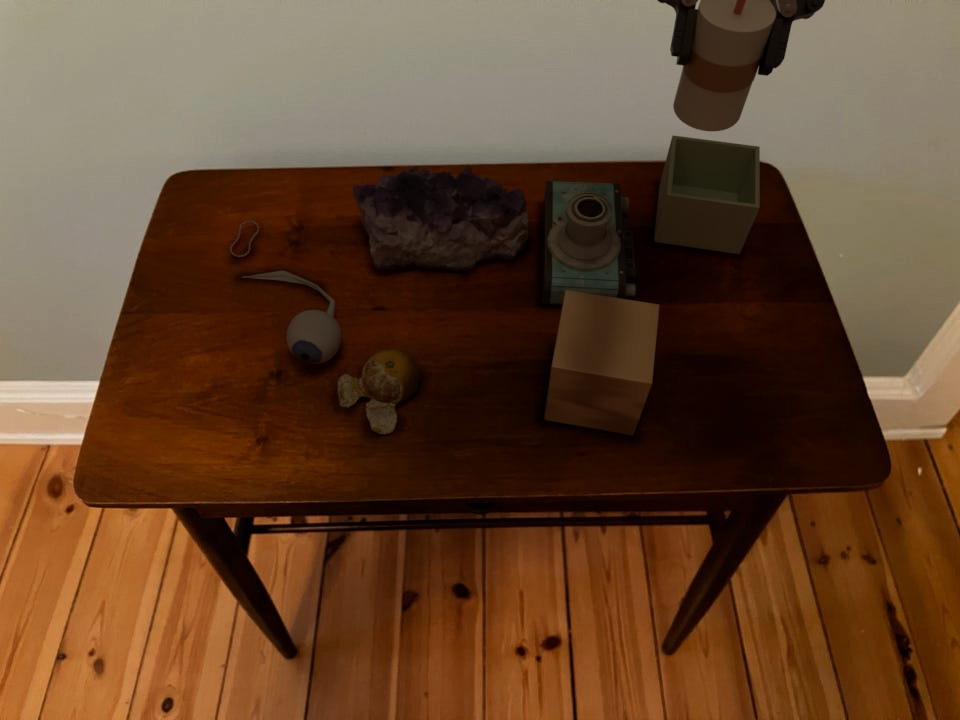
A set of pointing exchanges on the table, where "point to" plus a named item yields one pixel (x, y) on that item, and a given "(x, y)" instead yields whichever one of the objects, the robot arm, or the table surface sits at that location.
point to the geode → (441, 220)
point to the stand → (602, 362)
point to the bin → (708, 194)
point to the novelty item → (310, 325)
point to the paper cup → (722, 62)
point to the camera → (586, 241)
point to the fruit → (381, 387)
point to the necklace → (250, 240)
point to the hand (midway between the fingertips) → (723, 67)
